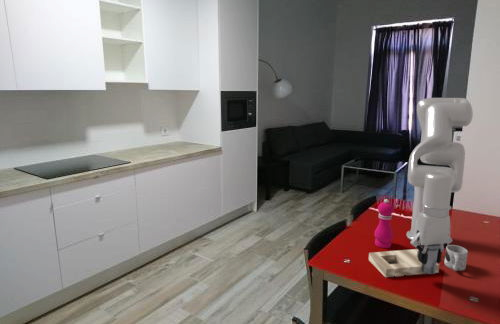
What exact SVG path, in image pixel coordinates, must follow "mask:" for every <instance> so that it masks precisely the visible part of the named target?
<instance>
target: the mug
mask: <svg viewBox="0 0 500 324" xmlns="http://www.w3.org/2000/svg"><path fill="white" fill-rule="evenodd" d="M468 254H469V251H468V249H466V248H465V247H463V246H460V245H455V244H448V245H447V247H446V248H445V253H444V262H443V263H444V266H445V267H447V268H449V269H450V270H453V271H454V272H458V271H460V272H462V271H465V270H466V267H467V260H468Z"/></svg>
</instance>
